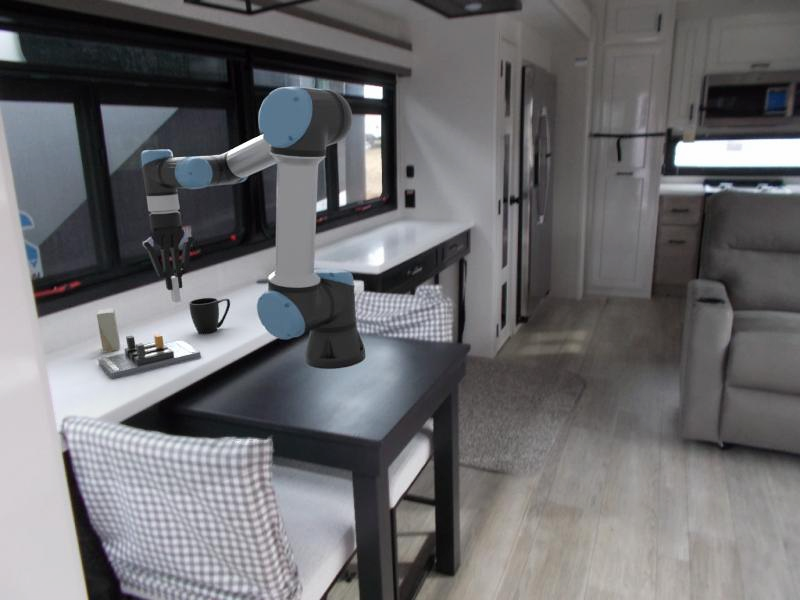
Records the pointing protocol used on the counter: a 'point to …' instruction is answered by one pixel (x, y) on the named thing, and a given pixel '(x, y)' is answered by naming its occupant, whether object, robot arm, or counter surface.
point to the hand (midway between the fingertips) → (176, 300)
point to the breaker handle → (158, 340)
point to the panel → (136, 369)
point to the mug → (207, 314)
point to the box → (108, 330)
